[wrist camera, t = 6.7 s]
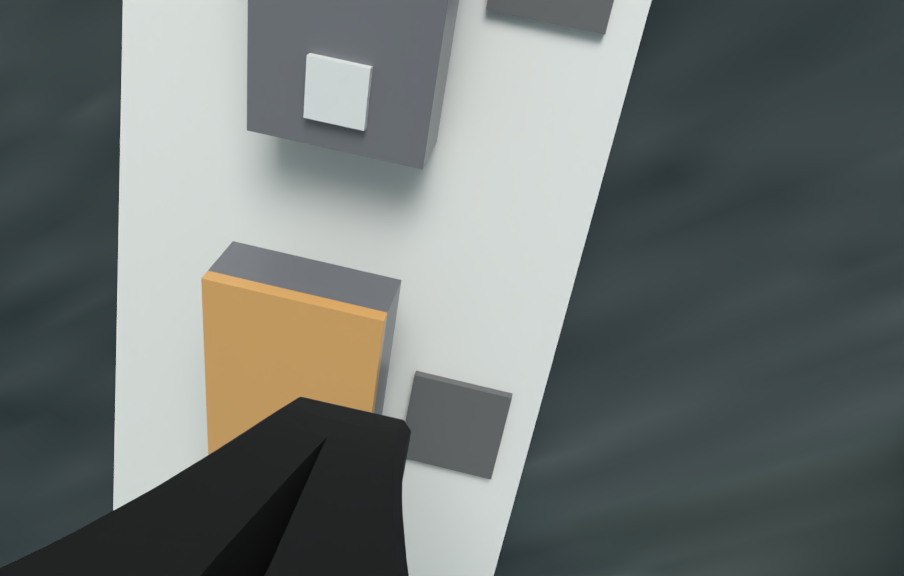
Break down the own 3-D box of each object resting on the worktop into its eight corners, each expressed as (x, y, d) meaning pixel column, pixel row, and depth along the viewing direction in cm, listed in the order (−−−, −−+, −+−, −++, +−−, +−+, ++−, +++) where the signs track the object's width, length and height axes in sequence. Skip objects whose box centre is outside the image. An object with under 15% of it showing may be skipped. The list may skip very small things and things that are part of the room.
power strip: (874, -913, 11) (1045, -1413, 7) (430, 763, 24) (405, 905, 21) (268, -995, 11) (119, -1505, 7) (166, 693, 25) (95, 818, 21)
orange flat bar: (401, 279, 13) (381, 326, 12) (364, 537, 17) (346, 591, 16) (232, 240, 13) (196, 283, 12) (235, 504, 17) (208, 555, 16)
